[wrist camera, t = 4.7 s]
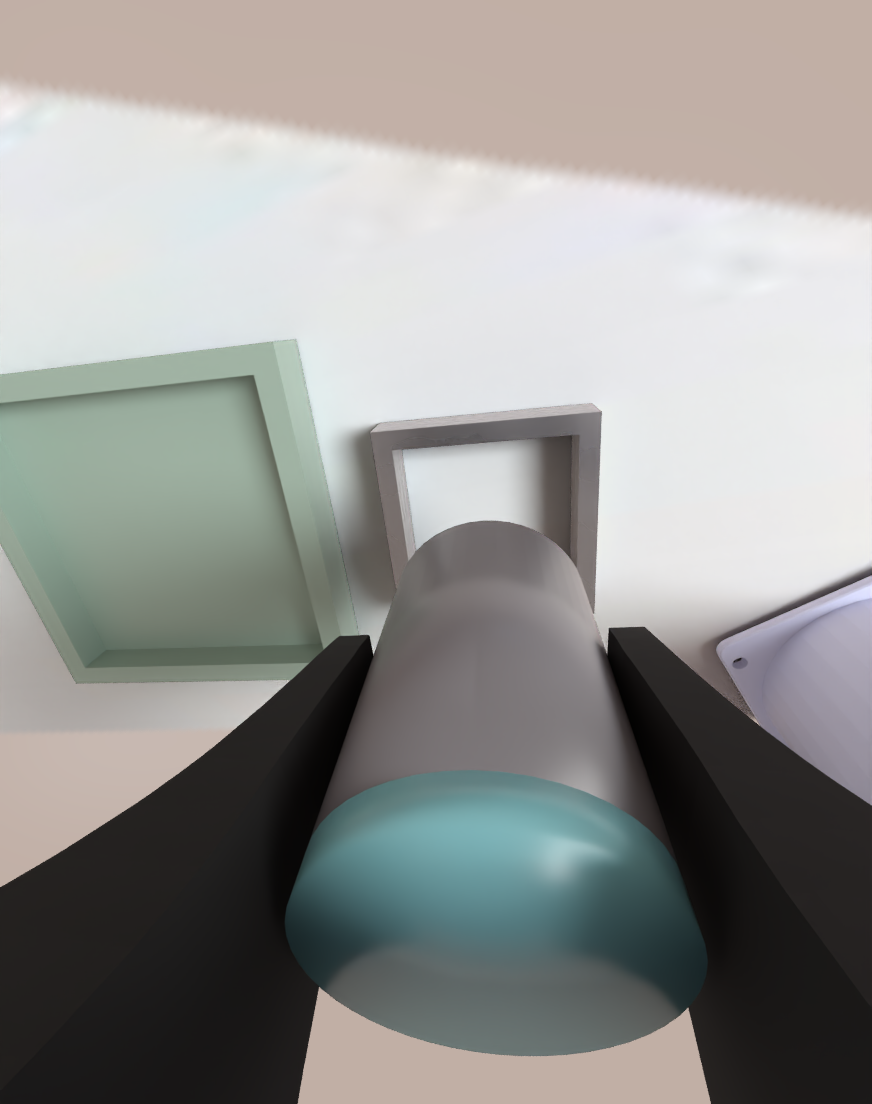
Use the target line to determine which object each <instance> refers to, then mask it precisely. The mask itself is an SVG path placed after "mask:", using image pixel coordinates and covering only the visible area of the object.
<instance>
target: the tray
mask: <svg viewBox="0 0 872 1104" xmlns="http://www.w3.org/2000/svg"><path fill="white" fill-rule="evenodd" d="M0 544H1V546H2V548H3V550H4V551H5V553H6V555H7V557H8V559H9V561H10V562H11V564H12V566H13V568H14V570H15V572H16V574H17V575H18V577H19V579H20V581H21V583H22V585H23V586H24V588H25V590H26V592H27V594H28V596H29V598H30V599H31V601H32V603H33V605H34V607H35V609H36V610H37V612H38V614H39V616H40V618H41V620H42V622H43V623H44V625H45V627H46V629H47V631H48V633H49V634H50V636H51V638H52V640H53V642H54V644H55V646H56V647H57V649H58V651H59V653H60V655H61V657H62V658H63V660H64V662H65V664H66V666H67V668H68V670H69V671H70V673H71V675H72V677H73V679H74V681H75V682H76V684H77V683H136V682H194V681H252V680H292V679H293V678H294V677H295V676H296V675H297V674H298V673H299V672H300V671H301V670H302V669H303V668H305V667H306V666H307V665H308V664H309V663H310V662H311V661H312V660H313V659H314V658H315V657H316V656H317V655H318V654H319V653H321V652H322V651H323V650H324V649H325V648H326V647H327V646H328V645H329V644H330V643H331V642H333V641H334V640H335V639H336V638H337V637H339V636H352V635H359V633H358V628H357V623H356V619H355V614H354V609H353V605H352V600H351V595H350V590H349V586H348V581H347V576H346V572H345V567H344V562H343V558H342V553H341V548H340V543H339V539H338V534H337V529H336V525H335V520H334V515H333V510H332V506H331V501H330V496H329V492H328V487H327V482H326V478H325V473H324V468H323V463H322V459H321V454H320V449H319V445H318V440H317V435H316V431H315V426H314V421H313V416H312V412H311V407H310V402H309V398H308V393H307V388H306V384H305V379H304V374H303V369H302V365H301V360H300V355H299V351H298V346H297V341H296V339H294V340H284V341H274V342H266V343H258V344H249V345H241V346H233V347H225V348H216V349H208V350H200V351H192V352H183V353H175V354H167V355H159V356H150V357H142V358H134V359H126V360H117V361H109V362H101V363H93V364H85V365H76V366H68V367H60V368H52V369H43V370H35V371H27V372H19V373H10V374H2V375H0Z"/></svg>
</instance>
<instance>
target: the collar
mask: <svg viewBox="0 0 872 1104" xmlns="http://www.w3.org/2000/svg"><path fill="white" fill-rule="evenodd" d="M601 416H602V411H601V410H599V409H598V408H597V407H596V406H595V405H593V404H592V403H589V404H578V405H567V406H557V407H546V408H535V409H525V410H514V411H503V412H492V413H482V414H471V415H460V416H449V417H439V418H428V419H417V420H407V421H396V422H385V423H380V424H378V425H377V426H376V427H375V428H374V429H373V430H372V431H371V432H370V436H371V442H372V448H373V454H374V460H375V466H376V472H377V479H378V485H379V491H380V497H381V503H382V509H383V515H384V521H385V527H386V533H387V539H388V545H389V551H390V557H391V563H392V569H393V575H394V581H395V587H396V589H397V587H398V584H399V581H400V578H401V575H402V573H403V570H404V568H405V566H406V565H407V563H408V561H409V560H410V558H411V557H412V556H413V554H414V553H415V552H416V548H415V541H414V534H413V527H412V520H411V513H410V505H409V498H408V491H407V484H406V477H405V470H404V462H403V455H402V449H414V448H426V447H438V446H449V445H461V444H473V443H485V442H497V441H508V440H520V439H532V438H544V437H555V436H567V435H572V452H571V541H570V559H571V560H572V562H573V563H574V565H575V567H576V569H577V570H578V572H579V575H580V578H581V580H582V583H583V586H584V589H585V592H586V595H587V598H588V601H589V604H590V606H591V609H592V612H593V614H594V606H595V579H596V552H597V525H598V497H599V470H600V443H601Z"/></svg>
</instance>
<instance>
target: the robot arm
mask: <svg viewBox="0 0 872 1104" xmlns="http://www.w3.org/2000/svg"><path fill="white" fill-rule="evenodd" d="M716 652H717V655H718V656H719V658H720V660H721V661H722V663H723V665H724V666H725V668H726V670H727V671H728V673H729V675H730V676H731V678H732V680H733V681H734V683H735V685H736V686H737V688H738V690H739V691H740V693H741V695H742V696H743V698H744V700H745V701H746V703H747V705H748V706H749V708H750V710H751V711H752V713H753V715H754V716H755V718H756V720H757V721H758V723H759V725H760V726H759V725H758V724H757V723H755V722H754V721H753V720H752V719H750V718H749V717H748V716H747V715H745V714H744V713H743V712H742V711H740V710H739V709H738V708H737V707H735V706H734V705H733V704H732V703H731V702H729V701H728V700H727V699H726V698H725V697H723V696H722V695H721V694H720V693H719V692H717V691H716V690H715V689H714V688H713V687H711V686H710V685H709V684H708V683H707V682H706V681H704V680H703V679H702V678H701V677H700V676H699V675H698V674H696V673H695V672H694V671H693V670H692V669H691V668H690V667H689V666H687V665H686V664H685V663H684V662H683V661H682V660H681V659H680V658H678V657H677V656H676V655H675V654H674V653H673V652H672V651H671V650H670V649H668V648H667V647H666V646H665V645H664V644H663V643H662V642H661V641H660V640H658V639H657V638H656V637H655V636H654V635H653V634H652V633H651V632H650V631H648V630H647V629H646V628H645V627H625V628H609V634H608V653H607V657H608V659H609V662H610V665H611V668H612V671H613V674H614V677H615V680H616V683H617V686H618V689H619V692H620V695H621V698H622V701H623V704H624V707H625V710H626V713H627V715H628V718H629V721H630V724H631V727H632V730H633V733H634V736H635V739H636V742H637V745H638V748H639V751H640V754H641V757H642V760H643V763H644V766H645V769H646V771H647V774H648V777H649V780H650V783H651V786H652V789H653V792H654V795H655V798H656V801H657V804H658V807H659V810H660V813H661V816H662V819H663V822H664V825H665V827H666V830H667V833H668V836H669V839H670V842H671V845H672V848H673V851H674V854H675V857H676V860H677V863H678V866H679V869H680V872H681V875H682V878H683V881H684V883H685V886H686V889H687V892H688V895H689V898H690V901H691V904H692V907H693V910H694V913H695V916H696V919H697V922H698V925H699V928H700V931H701V934H702V937H703V939H704V942H705V946H706V952H707V959H708V964H707V973H706V978H705V981H704V983H703V986H702V988H701V991H700V992H699V994H698V995H697V997H696V998H695V1000H694V1001H693V1003H692V1004H691V1005H690V1006H689V1007H688V1008H689V1012H690V1016H691V1020H692V1025H693V1029H694V1033H695V1037H696V1042H697V1046H698V1050H699V1054H700V1058H701V1063H702V1067H703V1071H704V1075H705V1080H706V1084H707V1088H708V1092H709V1096H710V1101H711V1104H872V575H871V576H869V577H867V578H864V579H862V580H860V581H857V582H855V583H853V584H851V585H848V586H846V587H844V588H841V589H839V590H837V591H834V592H832V593H830V594H828V595H825V596H823V597H821V598H818V599H816V600H814V601H812V602H809V603H807V604H805V605H802V606H800V607H798V608H795V609H793V610H791V611H789V612H786V613H784V614H782V615H779V616H777V617H775V618H772V619H770V620H768V621H766V622H763V623H761V624H759V625H756V626H754V627H752V628H749V629H747V630H745V631H743V632H740V633H738V634H736V635H733V636H731V637H729V638H726V639H724V640H723V641H721V642H720V643H719V644H718V646H717V648H716ZM737 658H742V659H741V660H740V661H738V662H733V661H734V660H736V659H737ZM372 659H373V651H372V646H371V641H370V636H369V635H352V636H339V637H337V638H336V639H335V640H334V641H333V642H331V643H330V644H329V645H328V646H327V647H326V648H325V649H324V650H323V651H322V652H321V653H319V654H318V655H317V656H316V657H315V658H314V659H313V660H312V661H311V662H310V663H309V664H308V665H307V666H306V667H305V668H303V669H302V670H301V671H300V672H299V673H298V674H297V675H296V676H295V677H294V678H293V679H292V680H290V681H289V682H288V683H287V684H286V685H285V686H284V687H283V688H282V689H281V690H279V691H278V692H277V693H276V694H275V695H274V696H273V697H272V698H271V699H270V700H269V701H267V702H266V703H265V704H264V705H263V706H262V707H261V708H259V709H258V710H257V711H256V712H255V713H253V714H252V715H251V716H250V717H249V718H248V719H246V720H245V721H244V722H243V723H242V724H240V725H239V726H238V727H237V728H236V729H234V730H233V731H232V732H231V733H230V734H228V735H227V736H226V737H225V738H224V739H222V740H221V741H220V742H219V743H218V744H216V745H215V746H214V747H213V748H212V749H210V750H209V751H208V752H206V753H205V754H204V755H203V756H201V757H200V758H199V759H197V760H196V761H195V762H193V763H192V764H191V765H189V766H188V767H187V768H186V769H184V770H183V771H181V772H180V773H179V774H177V775H176V776H175V777H173V778H172V779H170V780H169V781H167V782H166V783H165V784H163V785H162V786H161V787H159V788H158V789H156V790H155V791H154V792H152V793H151V794H149V795H148V796H146V797H145V798H144V799H142V800H141V801H139V802H138V803H136V804H135V805H133V806H132V807H130V808H129V809H127V810H125V811H124V812H122V813H121V814H119V815H118V816H116V817H115V818H113V819H112V820H110V821H108V822H107V823H105V824H104V825H102V826H101V827H99V828H98V829H96V830H94V831H93V832H91V833H90V834H88V835H86V836H85V837H83V838H82V839H80V840H79V841H77V842H76V843H74V844H72V845H71V846H69V847H68V848H67V849H65V850H63V851H61V852H60V853H58V854H57V855H55V856H53V857H52V858H50V859H48V860H46V861H45V862H43V863H41V864H40V865H38V866H36V867H35V868H33V869H31V870H29V871H28V872H26V873H24V874H23V875H21V876H19V877H17V878H16V879H14V880H12V881H11V882H9V883H7V884H5V885H4V886H2V887H0V1104H297V1103H298V1098H299V1092H300V1086H301V1080H302V1075H303V1068H304V1063H305V1058H306V1053H307V1048H308V1042H309V1037H310V1032H311V1027H312V1021H313V1016H314V1010H315V1005H316V1000H317V995H318V989H319V986H318V985H317V984H316V983H315V982H314V981H313V980H312V979H311V978H310V977H309V976H308V975H307V973H306V972H305V971H304V970H303V968H302V967H301V966H300V965H299V963H298V961H297V960H296V958H295V956H294V954H293V953H292V951H291V949H290V946H289V943H288V940H287V937H286V930H285V915H286V907H287V904H288V902H289V899H290V896H291V893H292V890H293V887H294V884H295V881H296V878H297V876H298V873H299V870H300V867H301V864H302V861H303V858H304V855H305V852H306V850H307V847H308V844H309V841H310V838H311V835H312V832H313V829H314V826H315V824H316V821H317V818H318V815H319V812H320V809H321V806H322V803H323V800H324V798H325V795H326V792H327V789H328V786H329V783H330V780H331V777H332V774H333V772H334V769H335V766H336V763H337V760H338V757H339V754H340V751H341V748H342V746H343V743H344V740H345V737H346V734H347V731H348V728H349V725H350V722H351V719H352V717H353V714H354V711H355V708H356V705H357V702H358V699H359V696H360V693H361V691H362V688H363V685H364V682H365V679H366V676H367V673H368V670H369V667H370V665H371V662H372Z"/></svg>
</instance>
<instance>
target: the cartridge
mask: <svg viewBox="0 0 872 1104" xmlns="http://www.w3.org/2000/svg"><path fill="white" fill-rule="evenodd" d="M285 930H286V937H287V940H288V943H289V946H290V949H291V951H292V953H293V954H294V956H295V958H296V960H297V961H298V963H299V965H300V966H301V967H302V968H303V970H304V971H305V972H306V973H307V975H308V976H309V977H310V978H311V979H312V980H313V981H314V982H315V983H316V984H317V985H318V986H319V987H320V988H321V989H322V990H324V991H325V992H326V993H328V994H329V995H330V996H331V997H333V998H334V999H335V1000H336V1001H338V1002H340V1003H341V1004H343V1005H344V1006H346V1007H347V1008H349V1009H351V1010H352V1011H354V1012H356V1013H358V1014H359V1015H361V1016H364V1017H365V1018H367V1019H369V1020H371V1021H373V1022H375V1023H378V1024H380V1025H382V1026H384V1027H386V1028H389V1029H392V1030H394V1031H397V1032H399V1033H402V1034H405V1035H407V1036H410V1037H414V1038H417V1039H420V1040H424V1041H427V1042H430V1043H435V1044H439V1045H443V1046H447V1047H451V1048H456V1049H462V1050H468V1051H474V1052H481V1053H490V1054H499V1055H513V1056H553V1055H568V1054H576V1053H584V1052H591V1051H595V1050H600V1049H606V1048H610V1047H614V1046H617V1045H621V1044H624V1043H628V1042H631V1041H633V1040H636V1039H638V1038H641V1037H644V1036H646V1035H648V1034H651V1033H652V1032H654V1031H656V1030H658V1029H660V1028H662V1027H664V1026H666V1025H667V1024H668V1023H669V1022H671V1021H673V1020H674V1019H676V1018H677V1017H678V1016H680V1015H681V1014H682V1013H683V1012H684V1011H685V1010H686V1009H687V1008H688V1007H689V1006H690V1005H691V1004H692V1003H693V1001H694V1000H695V998H696V997H697V995H698V994H699V992H700V991H701V988H702V986H703V983H704V981H705V978H706V973H707V964H708V959H707V952H706V946H705V942H704V939H703V937H702V934H701V931H700V928H699V925H698V922H697V919H696V916H695V913H694V910H693V907H692V904H691V901H690V898H689V895H688V892H687V889H686V886H685V883H684V881H683V878H682V875H681V872H680V869H679V866H678V863H677V860H676V857H675V854H674V851H673V848H672V845H671V842H670V839H669V836H668V833H667V830H666V827H665V825H664V822H663V819H662V816H661V813H660V810H659V807H658V804H657V801H656V798H655V795H654V792H653V789H652V786H651V783H650V780H649V777H648V774H647V771H646V769H645V766H644V763H643V760H642V757H641V754H640V751H639V748H638V745H637V742H636V739H635V736H634V733H633V730H632V727H631V724H630V721H629V718H628V715H627V713H626V710H625V707H624V704H623V701H622V698H621V695H620V692H619V689H618V686H617V683H616V680H615V677H614V674H613V671H612V668H611V665H610V662H609V659H608V657H607V654H606V651H605V648H604V645H603V642H602V639H601V636H600V633H599V630H598V627H597V624H596V621H595V618H594V615H593V612H592V609H591V606H590V604H589V601H588V598H587V595H586V592H585V589H584V586H583V583H582V580H581V578H580V575H579V572H578V570H577V569H576V567H575V565H574V563H573V562H572V560H571V559H570V558H569V556H568V555H567V554H566V553H565V552H564V551H563V550H562V549H561V548H560V547H559V546H558V545H557V544H556V543H555V542H553V541H552V540H550V539H549V538H548V537H546V536H544V535H543V534H541V533H539V532H537V531H535V530H533V529H530V528H527V527H525V526H522V525H518V524H514V523H510V522H502V521H477V522H469V523H465V524H461V525H457V526H454V527H452V528H449V529H447V530H444V531H443V532H441V533H439V534H437V535H435V536H433V537H432V538H431V539H429V540H428V541H427V542H425V543H424V544H423V545H422V546H421V547H420V548H419V549H418V550H417V551H416V552H415V553H414V554H413V556H412V557H411V558H410V560H409V561H408V563H407V565H406V566H405V568H404V570H403V573H402V575H401V578H400V581H399V584H398V587H397V589H396V592H395V595H394V598H393V601H392V604H391V607H390V610H389V613H388V615H387V618H386V621H385V624H384V627H383V630H382V633H381V636H380V639H379V641H378V644H377V647H376V650H375V653H374V656H373V659H372V662H371V665H370V667H369V670H368V673H367V676H366V679H365V682H364V685H363V688H362V691H361V693H360V696H359V699H358V702H357V705H356V708H355V711H354V714H353V717H352V719H351V722H350V725H349V728H348V731H347V734H346V737H345V740H344V743H343V746H342V748H341V751H340V754H339V757H338V760H337V763H336V766H335V769H334V772H333V774H332V777H331V780H330V783H329V786H328V789H327V792H326V795H325V798H324V800H323V803H322V806H321V809H320V812H319V815H318V818H317V821H316V824H315V826H314V829H313V832H312V835H311V838H310V841H309V844H308V847H307V850H306V852H305V855H304V858H303V861H302V864H301V867H300V870H299V873H298V876H297V878H296V881H295V884H294V887H293V890H292V893H291V896H290V899H289V902H288V904H287V907H286V915H285Z"/></svg>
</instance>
